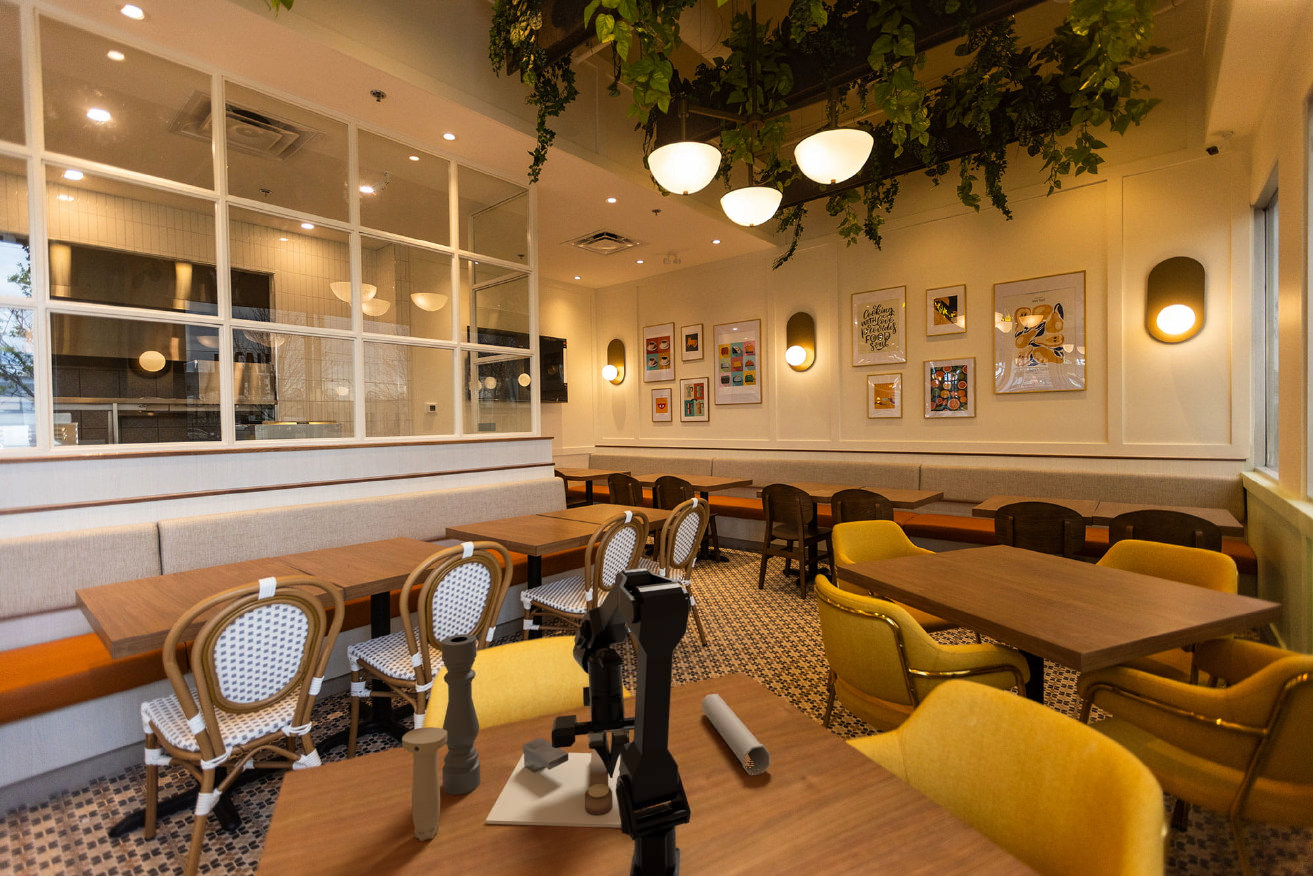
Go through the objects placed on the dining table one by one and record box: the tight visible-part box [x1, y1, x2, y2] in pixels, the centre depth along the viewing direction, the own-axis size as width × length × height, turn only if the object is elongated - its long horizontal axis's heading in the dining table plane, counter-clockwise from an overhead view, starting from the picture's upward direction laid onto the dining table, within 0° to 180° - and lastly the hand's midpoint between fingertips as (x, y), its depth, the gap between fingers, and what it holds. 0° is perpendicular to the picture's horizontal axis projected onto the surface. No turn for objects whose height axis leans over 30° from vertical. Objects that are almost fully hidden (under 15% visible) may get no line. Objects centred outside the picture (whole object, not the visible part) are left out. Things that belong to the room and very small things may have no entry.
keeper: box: [522, 737, 569, 773], centre depth 104 cm, size 8×4×4 cm, turn 46°
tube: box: [701, 693, 771, 776], centre depth 115 cm, size 5×5×25 cm
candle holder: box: [441, 633, 481, 796], centre depth 101 cm, size 6×6×25 cm
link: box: [585, 749, 613, 815], centre depth 99 cm, size 16×4×2 cm, turn 5°
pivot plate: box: [485, 752, 621, 829], centre depth 100 cm, size 20×22×3 cm
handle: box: [401, 726, 447, 842], centre depth 89 cm, size 5×6×15 cm
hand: (611, 776), depth 100 cm, fingers closed
